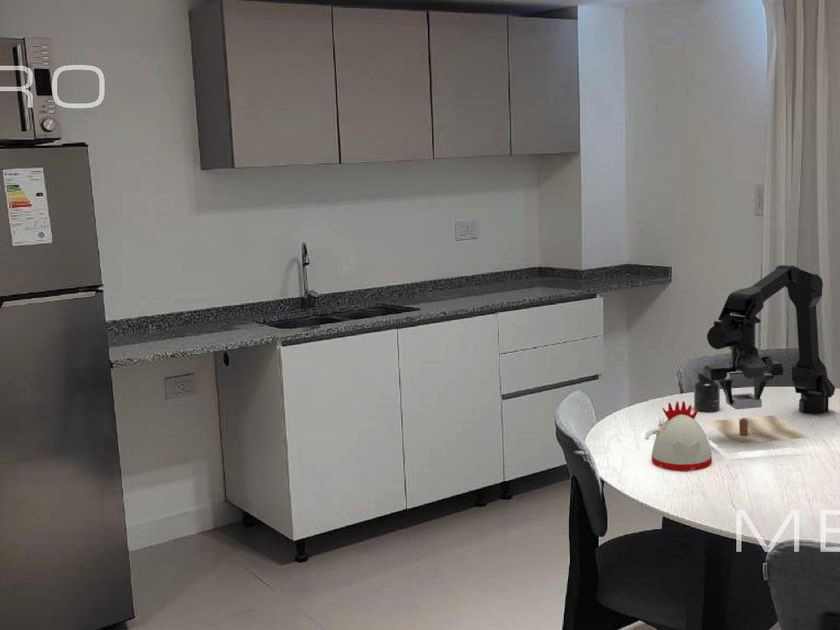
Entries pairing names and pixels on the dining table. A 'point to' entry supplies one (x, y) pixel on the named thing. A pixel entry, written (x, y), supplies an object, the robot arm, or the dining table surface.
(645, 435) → the pliers
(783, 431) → the keeper board
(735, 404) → the grey square frame
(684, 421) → the kitchen timer
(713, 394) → the supplement bottle
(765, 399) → the dining table surface
